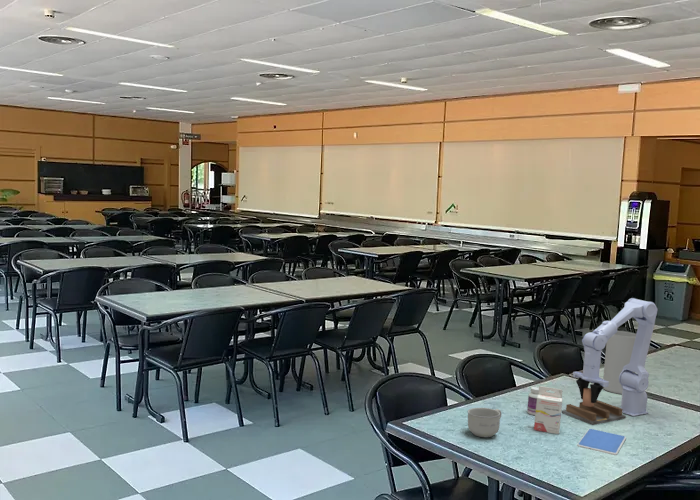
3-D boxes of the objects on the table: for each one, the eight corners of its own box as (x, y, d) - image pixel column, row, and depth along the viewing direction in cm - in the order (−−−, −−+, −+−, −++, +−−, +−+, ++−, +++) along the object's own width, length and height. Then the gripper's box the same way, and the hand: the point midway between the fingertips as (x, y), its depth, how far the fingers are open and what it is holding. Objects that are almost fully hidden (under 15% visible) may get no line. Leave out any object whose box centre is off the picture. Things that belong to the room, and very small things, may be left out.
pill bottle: (542, 416, 248) (544, 391, 248) (527, 414, 250) (529, 389, 249) (541, 412, 254) (543, 387, 253) (526, 410, 255) (528, 385, 254)
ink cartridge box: (533, 430, 233) (537, 389, 231) (534, 426, 237) (537, 385, 236) (559, 434, 230) (563, 392, 229) (559, 430, 235) (563, 389, 233)
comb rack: (594, 407, 264) (595, 398, 264) (625, 418, 252) (626, 409, 252) (561, 413, 254) (562, 404, 254) (592, 425, 242) (593, 415, 242)
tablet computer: (616, 457, 214) (616, 453, 213) (575, 447, 220) (576, 443, 220) (626, 440, 230) (626, 436, 230) (588, 431, 237) (588, 427, 236)
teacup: (479, 442, 219) (481, 418, 218) (459, 430, 228) (461, 407, 227) (512, 437, 225) (514, 413, 224) (491, 426, 235) (493, 403, 234)
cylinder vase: (599, 385, 297) (604, 329, 295) (628, 387, 295) (634, 332, 293) (606, 393, 285) (611, 335, 283) (636, 396, 283) (642, 337, 281)
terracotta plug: (587, 402, 253) (588, 387, 253) (595, 406, 250) (597, 390, 249) (580, 404, 251) (581, 388, 251) (588, 407, 248) (590, 391, 247)
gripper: (568, 361, 253) (565, 396, 254) (601, 371, 241) (597, 407, 242) (581, 359, 257) (578, 394, 258) (613, 369, 245) (610, 405, 246)
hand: (588, 400), depth 250 cm, fingers closed on terracotta plug, 4 cm apart
